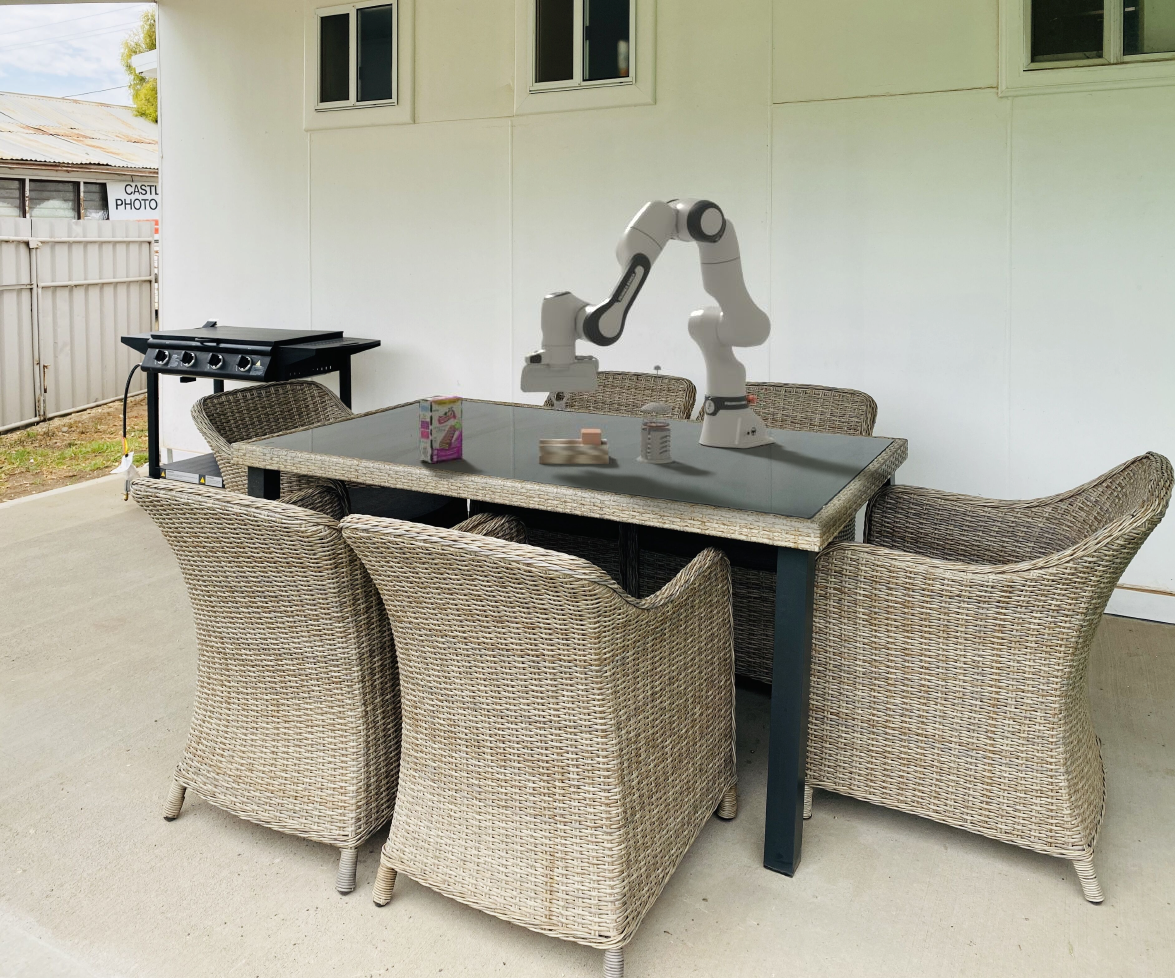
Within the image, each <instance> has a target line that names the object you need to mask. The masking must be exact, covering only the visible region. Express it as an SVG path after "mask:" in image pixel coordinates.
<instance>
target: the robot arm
mask: <svg viewBox="0 0 1175 978" xmlns="http://www.w3.org/2000/svg"><path fill="white" fill-rule="evenodd" d="M670 240H673V241H674V240H676V241H680V242H686V243H691V242H695V243H696V246H697V247H698V253H699V256H698V257H699V263H700V272H701V278H702V287H703V289H704V291H705V292H706V293H707V294H708V295H709V296H710V297H712V298H713V299H714V300H715V301H716V303H717V304H718V306H716V305H715V306H712V305H709V306H704V307H700V308H697V309H695V310H694V311H692V313H691V314H690V316H689V318H688V320H687V329H688V330H687V331H688V335H689V336H690V338H691V339H692V340H693V341H694V342H695V343H696V345H697V346H698V347H699V349H700V351H701V354H702V356H703V359H704V363H705V369H706V370H705V371H706V391H705V392H706V393H705V394H704V404H703V406H704V416H703V423H702V429H701V434H700V438H699V441H698V443H699V444H700V445H701V444H702V445H704V446H710V447H718V448H735V449H737V448H738V449H748V448H755V447H759V446H761V445H762V446H763V445H767V444H772V443H774V442H775V440H774V438H772V437H771V436H767V426H766V424H765V421H764V420H763V418H761V417H760V416H759V415H758V414H756V413H755V412H754V411H753V410H752V409H751V408H750V404H756V402H757V398H756V396H752V395H749V396H747V394H746V380H747V370H746V367H745V365H744V364H743V363H742V362H741V361H739V359H738V358H736V356H735V353H734V351H733V347H734V348H735V347H736V348H745V349H746V348H754V347H758V346H759V347H760V346H762V345H764V344H765V343H766V342H767V340H768V339H769V336H770V333H771V330H772V329H771V327H772V326H771V325H772V324H771V321H770V317H769V316H768V315H767V313H766V312H765V311H763V310H762V309H761V308H760V307H759V306H758V305H757V304H756V303H755V302H754V300H753V298H752V296H750V293H749V291H748V289H747V286H746V284H745V280H744V279H745V278H744V274H743V267H742V260H741V252H740V246H739V241H738V236H737V233H736V230H735V227H734V224H733V222H732V221H731V220H730V219H728V218H726V217H725V214H724V212H723V209H722V208H721V207H720V206H719V204H717V203H715V202H713V201H711V200H708V199H699V198H683V199H677V198H676V199H675V198H674V199H671V200H668V201H663V200H659V199H653V200H649V201H648V202H647V203H646V204H645V205H644V206H643V207H642V208H641V209H640V210H639V211H638V213H636V215H634V217H633V218H632V220H631V221H630V222H629V223H628V225H627V226H626V228H625V230H624V231H623V232H622V234H621V236H620V238H619V240H618V242H617V244H616V247H615V256H616V260H617V262H618V263H619V265H620V267H621V268H620V269H621V270H620V275H619V276H618V279H617V281H616V282H615V284H614V285H613V287H612V289H611V291H610V292H609V294H608V296H607V298H606V300H604V301H603V302H602V303H600V304H594V303H590V302H587V301H585V300H583V299H581V298H579V297H577V296H576V295H575V294H574V293H572V292H571V291H570V290H569V291H567V290H565V291H558V292H553V293H549V294H547V295H545V297H544V298H543V300H542V303H541V307H540V309H541V311H540V329H541V332H542V339H541V344H540V345H541V348H540V349H538V350H534V351H532V352H529V353H527V354H525V356H524V362H525V363H524V365H523V367H522V369H521V376H520V386H519V387H520V390H521V392H523V393H549V397H550V398H549V399H551V401H552V402H553V409H554V410H566V402H567V400H568V399H569V397H570V393H571V392H572V393H573V392H574V393H575V392H576V393H577V392H581V393H582V392H596V391H597V390H598V389H599V383H598V374H597V373H598V371H599V369H600V362H599V359H598V358H597V357H595V356H594V355H591V354H589V355H578V354H577V355H576V341H577V340H581V341H584V342H588V343H592V344H594V345H596V346H599V347H608V346H612V345H614V344H615V343H617V341H619V340H620V338H621V336H622V335H623V332H624V329H625V324H626V320H627V317H628V314H629V312H630V310H631V308H632V307H633V305H634V303H635V300H636V299H637V298H638V296H639V293H640V292H641V290H642V288H643V286H644V285H645V283H646V282H647V279H648V277H649V274H650V272H651V270H652V267H653V266H654V265H655V263H656V261H657V259H658V258H659V256H660V254H661V253H662V252H663V250H664V249H665V247H666V245H667V243H668V242H669V241H670ZM555 393H563V396H564V398H563V400H562V401H561V400H560V401H557V400H556V398H555V395H556V394H555Z"/></svg>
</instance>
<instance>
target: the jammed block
mask: <svg viewBox="0 0 1175 978" xmlns="http://www.w3.org/2000/svg"><path fill="white" fill-rule="evenodd" d="M580 439H581V445H601V439H602V431H601V429H600V428H580Z"/></svg>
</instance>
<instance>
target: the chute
mask: <svg viewBox="0 0 1175 978" xmlns="http://www.w3.org/2000/svg"><path fill="white" fill-rule="evenodd" d="M538 441H539V447H538V448H539V449H538V452H539V454H538V460H539V461H538V462H539V464H542V465H543V464H544V465H545V464H555V465H556V464H563V465H564V464H565V465H566V464H568V465H569V464H576V465H577V464H580V465H581V464H590V465H591V464H592V465H593V464H594V465H597V464H603V465H604V464H605V465H607V464H608V465H609V463H610V460H609V459H610V455H609V453H610V452H609V448H610V447H609V444H608V439H607V438H603V439H602V438H601V445H581V438H579V439H578V438H575V439H573V438H563V439H562V438H557V439H555V438H554V439H553V438H549V439H548V438H547V439H544V438H540V439H539V440H538Z"/></svg>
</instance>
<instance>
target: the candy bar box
mask: <svg viewBox="0 0 1175 978" xmlns="http://www.w3.org/2000/svg"><path fill="white" fill-rule="evenodd" d="M418 404H419V405H418V409H419V417H418V418H419V420H418V421H419V462H423V463H428V464H435V463H441V462H446V461H447V462H448V461H451V460H452V461H454V460H457V459H462V458H463V397H462V396H457V395H456V396H455V395H442V396H434V397H425V398H424V397H423V398H419V400H418Z"/></svg>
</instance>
